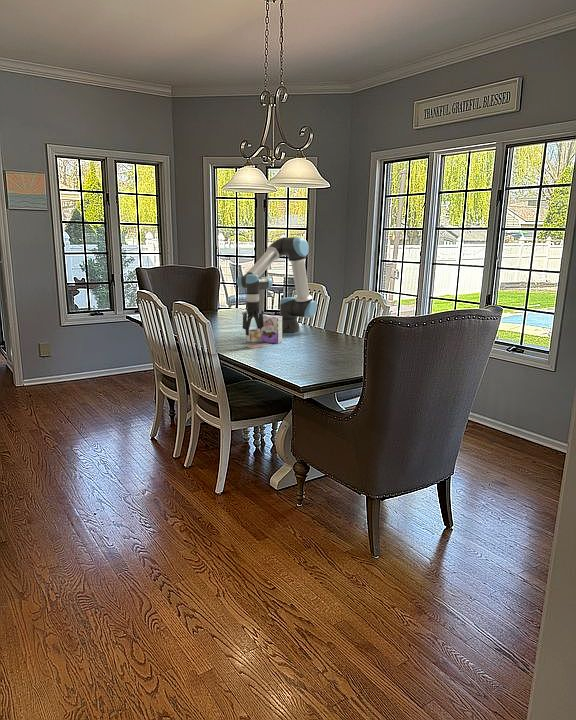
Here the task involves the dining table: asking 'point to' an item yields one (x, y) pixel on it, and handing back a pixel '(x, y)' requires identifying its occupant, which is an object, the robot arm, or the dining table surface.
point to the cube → (255, 335)
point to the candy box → (271, 329)
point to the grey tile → (264, 344)
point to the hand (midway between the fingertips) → (253, 339)
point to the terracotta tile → (253, 346)
